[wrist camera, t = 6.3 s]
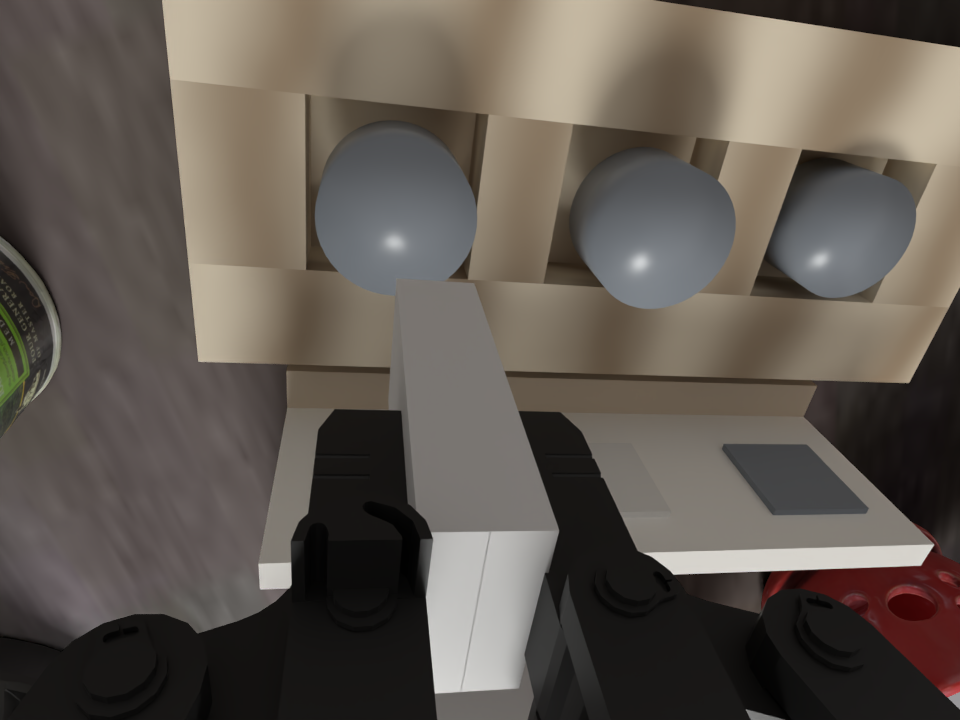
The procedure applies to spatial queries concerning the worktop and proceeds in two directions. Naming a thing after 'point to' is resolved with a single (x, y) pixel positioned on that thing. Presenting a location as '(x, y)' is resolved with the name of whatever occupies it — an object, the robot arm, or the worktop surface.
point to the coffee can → (24, 335)
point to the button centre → (652, 227)
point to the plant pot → (898, 607)
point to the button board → (557, 174)
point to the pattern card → (655, 469)
